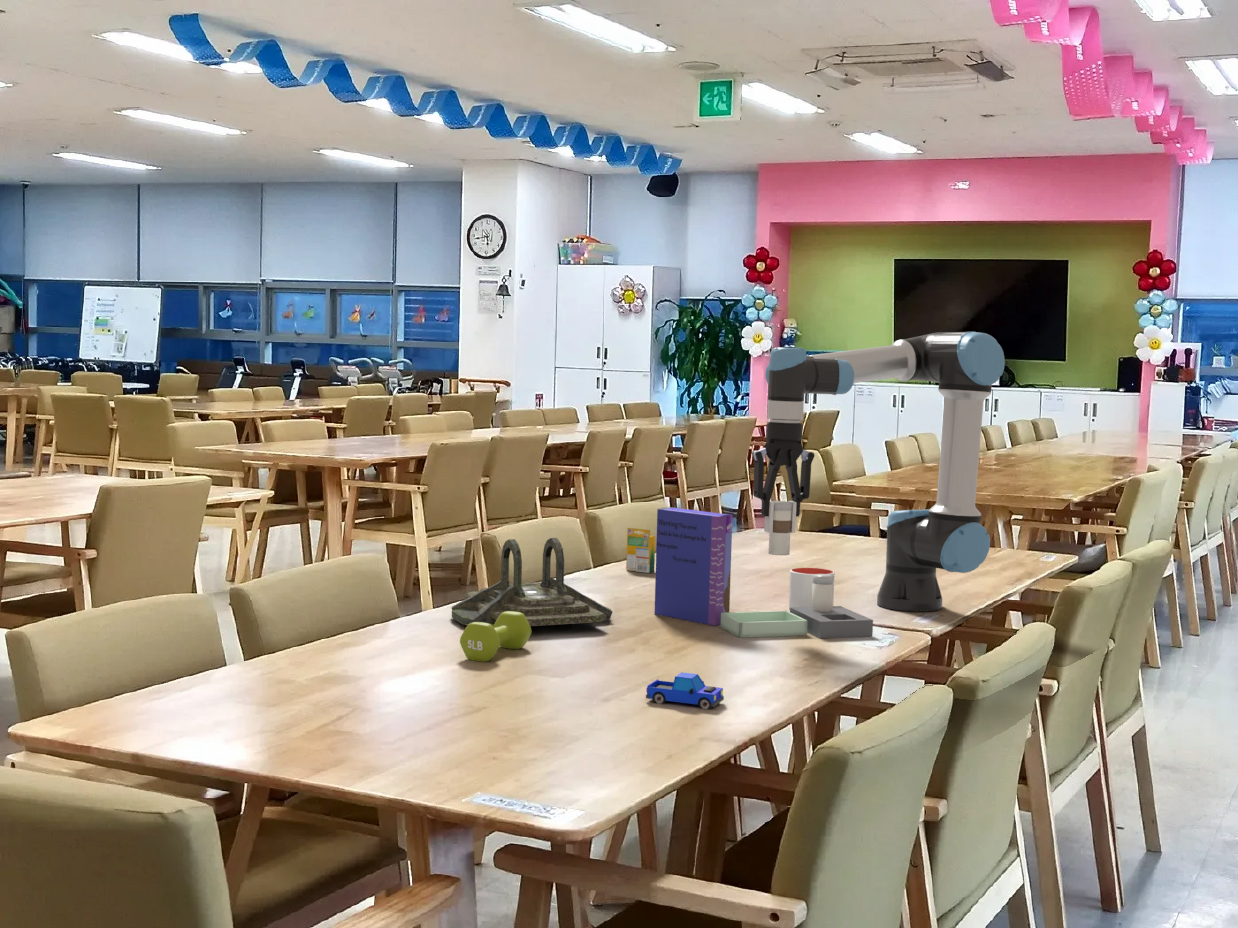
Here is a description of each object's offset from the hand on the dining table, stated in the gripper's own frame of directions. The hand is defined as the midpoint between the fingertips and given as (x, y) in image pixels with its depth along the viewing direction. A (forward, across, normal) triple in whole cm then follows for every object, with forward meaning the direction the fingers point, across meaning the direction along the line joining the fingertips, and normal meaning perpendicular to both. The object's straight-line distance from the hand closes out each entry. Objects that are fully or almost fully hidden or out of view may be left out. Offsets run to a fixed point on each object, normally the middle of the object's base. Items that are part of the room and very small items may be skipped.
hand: (779, 531), depth 291 cm
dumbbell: (+23, +62, +10) cm, 67 cm away
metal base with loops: (+23, +48, -22) cm, 57 cm away
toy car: (+23, +39, +52) cm, 69 cm away
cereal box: (+22, +13, -16) cm, 30 cm away
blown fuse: (+5, 0, 0) cm, 5 cm away
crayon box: (+21, +4, -81) cm, 84 cm away
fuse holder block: (+21, -13, 0) cm, 25 cm away
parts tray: (+21, +2, -1) cm, 22 cm away
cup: (+21, -16, -17) cm, 32 cm away
